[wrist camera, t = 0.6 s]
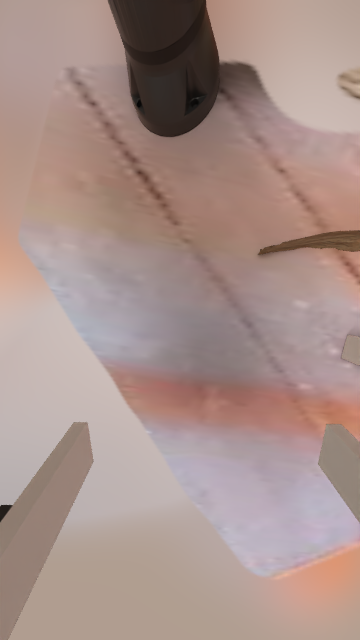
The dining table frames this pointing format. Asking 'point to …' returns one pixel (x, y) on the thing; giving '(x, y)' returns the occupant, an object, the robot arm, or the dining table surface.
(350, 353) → the white rectangular block
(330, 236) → the brown bark piece
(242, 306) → the dining table surface
